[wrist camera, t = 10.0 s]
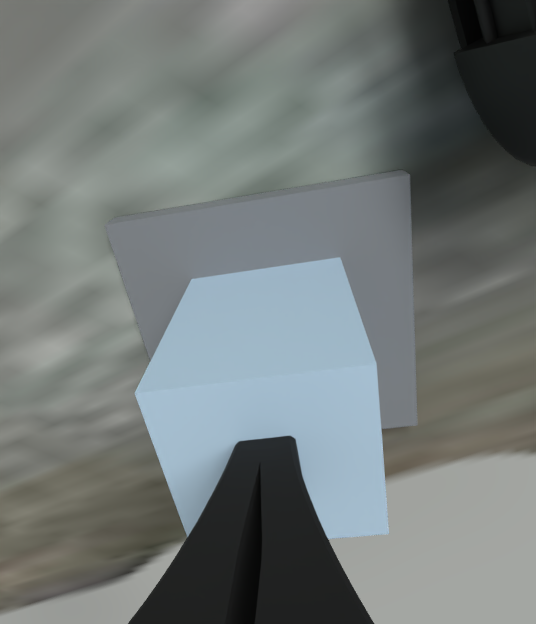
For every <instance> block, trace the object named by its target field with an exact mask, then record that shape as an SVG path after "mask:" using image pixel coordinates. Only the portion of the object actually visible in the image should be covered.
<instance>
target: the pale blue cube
mask: <svg viewBox="0 0 536 624" xmlns="http://www.w3.org/2000/svg"><path fill="white" fill-rule="evenodd" d="M135 396H136V398H137V401H138V404H139V406H140V409H141V412H142V415H143V417H144V420H145V423H146V426H147V428H148V431H149V434H150V437H151V439H152V442H153V445H154V447H155V450H156V453H157V456H158V458H159V461H160V464H161V467H162V469H163V472H164V475H165V478H166V480H167V483H168V486H169V488H170V491H171V494H172V497H173V499H174V502H175V505H176V508H177V510H178V513H179V516H180V518H181V521H182V524H183V527H184V529H185V532H186V535H187V537H188V536H189V534H190V532H191V531H192V529H193V527H194V526H195V524H196V522H197V521H198V519H199V517H200V515H201V513H202V512H203V510H204V508H205V506H206V504H207V502H208V500H209V499H210V497H211V495H212V493H213V491H214V489H215V487H216V485H217V483H218V481H219V479H220V477H221V475H222V473H223V471H224V469H225V467H226V465H227V463H228V460H229V458H230V456H231V454H232V451H233V449H234V447H235V445H236V444H237V443H238V442H239V441H245V440H254V439H263V438H273V437H281V436H292V437H293V438H295V439H296V444H297V449H298V455H299V460H300V466H301V471H302V476H303V479H304V482H305V485H306V488H307V491H308V493H309V496H310V498H311V501H312V503H313V506H314V509H315V511H316V514H317V516H318V518H319V520H320V523H321V525H322V527H323V529H324V532H325V534H326V536H327V538H328V539H333V538H344V537H357V536H370V535H382V534H389V528H388V514H387V501H386V487H385V473H384V459H383V445H382V432H381V418H380V404H379V391H378V377H377V364H376V361H375V358H374V355H373V352H372V349H371V346H370V343H369V340H368V337H367V334H366V331H365V328H364V326H363V323H362V320H361V317H360V314H359V311H358V308H357V305H356V302H355V299H354V296H353V293H352V290H351V287H350V284H349V282H348V279H347V276H346V273H345V270H344V267H343V264H342V261H341V258H340V257H338V258H331V259H325V260H318V261H311V262H304V263H297V264H291V265H284V266H277V267H270V268H264V269H257V270H250V271H243V272H236V273H230V274H223V275H216V276H209V277H203V278H196V279H191V281H190V283H189V285H188V287H187V289H186V291H185V293H184V295H183V297H182V299H181V301H180V303H179V305H178V307H177V309H176V311H175V313H174V315H173V317H172V319H171V321H170V323H169V325H168V327H167V329H166V331H165V333H164V335H163V337H162V339H161V341H160V343H159V345H158V347H157V349H156V351H155V353H154V355H153V357H152V359H151V361H150V363H149V365H148V367H147V369H146V371H145V373H144V375H143V377H142V379H141V382H140V384H139V386H138V388H137V390H136V392H135Z"/></svg>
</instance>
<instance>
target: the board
mask: <svg viewBox="0 0 536 624" xmlns="http://www.w3.org/2000/svg"><path fill="white" fill-rule="evenodd" d="M105 228H106V231H107V234H108V237H109V240H110V243H111V246H112V249H113V252H114V255H115V258H116V261H117V264H118V267H119V270H120V273H121V276H122V279H123V282H124V285H125V288H126V291H127V294H128V297H129V300H130V303H131V306H132V309H133V311H134V314H135V317H136V320H137V323H138V326H139V329H140V332H141V335H142V338H143V341H144V344H145V347H146V350H147V353H148V356H149V359H150V361H151V359H152V357H153V355H154V353H155V351H156V349H157V347H158V345H159V343H160V341H161V339H162V337H163V335H164V333H165V331H166V329H167V327H168V325H169V323H170V321H171V319H172V317H173V315H174V313H175V311H176V309H177V307H178V305H179V303H180V301H181V299H182V297H183V295H184V293H185V291H186V289H187V287H188V285H189V283H190V281H191V279H196V278H203V277H209V276H216V275H223V274H230V273H236V272H243V271H250V270H257V269H264V268H270V267H277V266H284V265H291V264H297V263H304V262H311V261H318V260H325V259H331V258H338V257H340V258H341V261H342V264H343V267H344V270H345V273H346V276H347V279H348V282H349V284H350V287H351V290H352V293H353V296H354V299H355V302H356V305H357V308H358V311H359V314H360V317H361V320H362V323H363V326H364V328H365V331H366V334H367V337H368V340H369V343H370V346H371V349H372V352H373V355H374V358H375V361H376V364H377V377H378V391H379V404H380V418H381V429H386V428H395V427H405V426H414V425H417V397H416V363H415V329H414V295H413V261H412V227H411V193H410V174H408V173H407V172H405V171H404V170H397V171H391V172H385V173H379V174H373V175H367V176H361V177H355V178H349V179H343V180H337V181H331V182H325V183H319V184H313V185H307V186H301V187H295V188H289V189H283V190H277V191H271V192H265V193H259V194H253V195H247V196H241V197H235V198H229V199H223V200H217V201H211V202H205V203H199V204H193V205H187V206H181V207H175V208H169V209H163V210H157V211H151V212H145V213H139V214H133V215H127V216H121V217H115V218H113V219H112V220H111V221H109V222H108V223H107V224H105Z"/></svg>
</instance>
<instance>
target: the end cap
mask: <svg viewBox="0 0 536 624" xmlns="http://www.w3.org/2000/svg"><path fill="white" fill-rule="evenodd" d="M448 3H449V6H450V10H451V14H452V17H453V21H454V25H455V28H456V32H457V36H458V39H459V42H460V45H461V48H462V49H460V50H458V51H457V52H455V53H454V56H455V59H456V62H457V66H458V69H459V72H460V75H461V77H462V80H463V82H464V85H465V88H466V90H467V93H468V95H469V97H470V99H471V101H472V103H473V105H474V107H475V109H476V111H477V113H478V114H479V116H480V118H481V120H482V121H483V123H484V125H485V126H486V128H487V129H488V130H489V132H490V133H491V134H492V136H493V137H494V138H495V140H496V141H497V142H498V143H499V144H500V145H501V146H502V147H503V148H504V149H505V150H506V151H507V152H508V153H509V154H511V155H512V156H513V157H515V158H516V159H517V160H520V161H522V162H524V163H526V164H528V165H531V166H536V0H448Z"/></svg>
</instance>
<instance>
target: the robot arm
mask: <svg viewBox="0 0 536 624" xmlns="http://www.w3.org/2000/svg"><path fill="white" fill-rule="evenodd" d="M128 624H374V623H373V621H372V620H371V618H370V616H369V614H368V613H367V611H366V609H365V607H364V606H363V604H362V602H361V600H360V599H359V597H358V595H357V594H356V592H355V590H354V588H353V587H352V585H351V583H350V581H349V579H348V577H347V575H346V574H345V572H344V570H343V568H342V566H341V564H340V563H339V560H338V559H337V557H336V555H335V552H334V551H333V548H332V546H331V545H330V542H329V540H328V538H327V536H326V534H325V532H324V529H323V527H322V525H321V523H320V520H319V518H318V516H317V514H316V511H315V509H314V506H313V503H312V501H311V498H310V496H309V493H308V491H307V488H306V485H305V482H304V479H303V476H302V471H301V466H300V460H299V455H298V449H297V444H296V439H295V438H293V437H292V436H281V437H273V438H263V439H254V440H245V441H239V442H238V443H237V444H236V445H235V447H234V449H233V451H232V454H231V456H230V458H229V460H228V463H227V465H226V467H225V469H224V471H223V473H222V475H221V477H220V479H219V481H218V483H217V485H216V487H215V489H214V491H213V493H212V495H211V497H210V499H209V500H208V502H207V504H206V506H205V508H204V510H203V512H202V513H201V515H200V517H199V519H198V521H197V522H196V524H195V526H194V527H193V529H192V531H191V532H190V534H189V536H188V537H187V539H186V541H185V542H184V544H183V545H182V547H181V549H180V550H179V552H178V554H177V555H176V557H175V559H174V560H173V562H172V563H171V565H170V566H169V568H168V569H167V571H166V572H165V574H164V575H163V576H162V578H161V579H160V581H159V582H158V584H157V585H156V587H155V588H154V589H153V591H152V592H151V594H150V595H149V596H148V598H147V599H146V601H145V602H144V603H143V605H142V606H141V607H140V609H139V610H138V611H137V613H136V614H135V615H134V617H133V618H132V619H131V620H130V622H129V623H128Z"/></svg>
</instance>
